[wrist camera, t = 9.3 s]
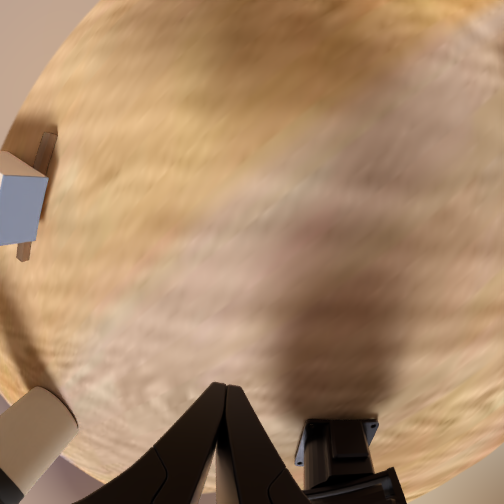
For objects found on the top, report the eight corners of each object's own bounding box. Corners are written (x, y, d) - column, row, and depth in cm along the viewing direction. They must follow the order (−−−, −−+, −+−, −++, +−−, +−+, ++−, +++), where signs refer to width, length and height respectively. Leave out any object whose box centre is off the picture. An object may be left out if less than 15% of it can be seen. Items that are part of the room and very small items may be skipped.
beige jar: (41, 375, 25) (-55, 455, 7) (87, 425, 25) (7, 522, 8) (28, 397, 26) (-49, 465, 9) (68, 440, 27) (1, 518, 9)
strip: (57, 135, 19) (50, 134, 18) (28, 259, 22) (21, 262, 21) (51, 133, 19) (44, 131, 18) (23, 255, 22) (16, 257, 21)
